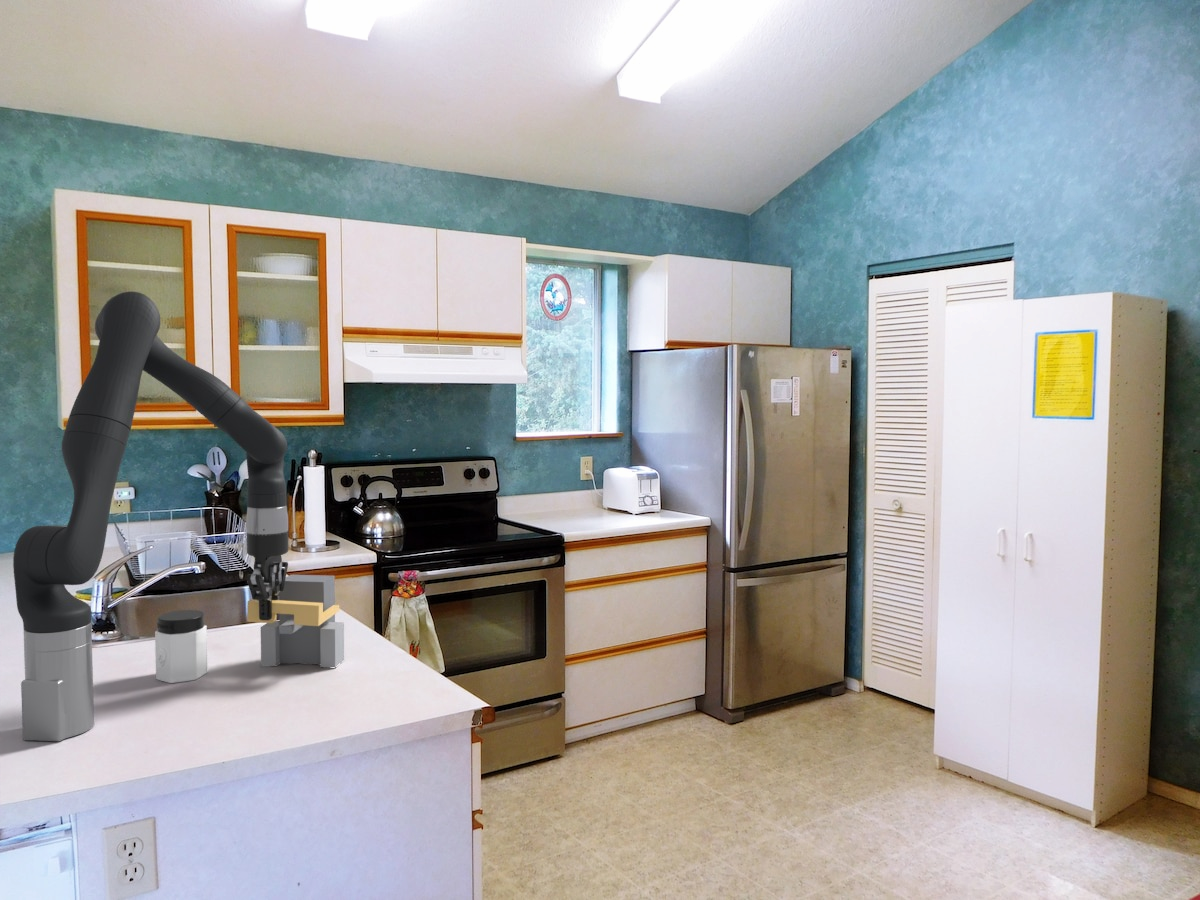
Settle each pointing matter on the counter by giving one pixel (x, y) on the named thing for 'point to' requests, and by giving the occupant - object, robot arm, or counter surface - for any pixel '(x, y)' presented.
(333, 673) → the counter surface
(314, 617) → the tan u-shaped bracket
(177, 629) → the jar
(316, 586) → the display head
